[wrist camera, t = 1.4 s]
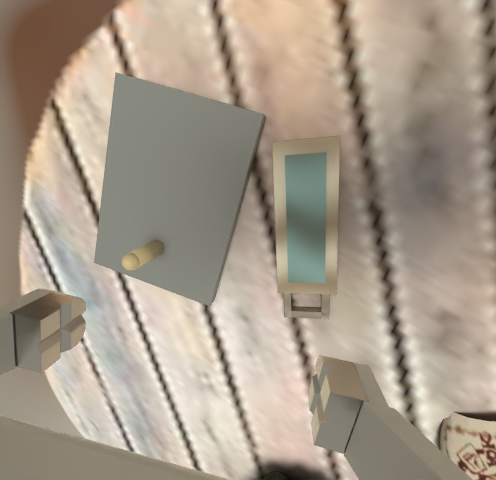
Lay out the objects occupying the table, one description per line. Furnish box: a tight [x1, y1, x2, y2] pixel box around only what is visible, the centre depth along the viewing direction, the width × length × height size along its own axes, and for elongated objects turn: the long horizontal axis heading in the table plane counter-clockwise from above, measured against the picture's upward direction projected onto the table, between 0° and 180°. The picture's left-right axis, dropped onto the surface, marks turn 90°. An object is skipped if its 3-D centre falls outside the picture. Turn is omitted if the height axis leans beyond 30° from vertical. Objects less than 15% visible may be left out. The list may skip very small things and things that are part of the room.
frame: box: [272, 136, 340, 319], centre depth 26 cm, size 19×6×5 cm, turn 4°
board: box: [94, 73, 266, 306], centre depth 27 cm, size 16×22×7 cm
